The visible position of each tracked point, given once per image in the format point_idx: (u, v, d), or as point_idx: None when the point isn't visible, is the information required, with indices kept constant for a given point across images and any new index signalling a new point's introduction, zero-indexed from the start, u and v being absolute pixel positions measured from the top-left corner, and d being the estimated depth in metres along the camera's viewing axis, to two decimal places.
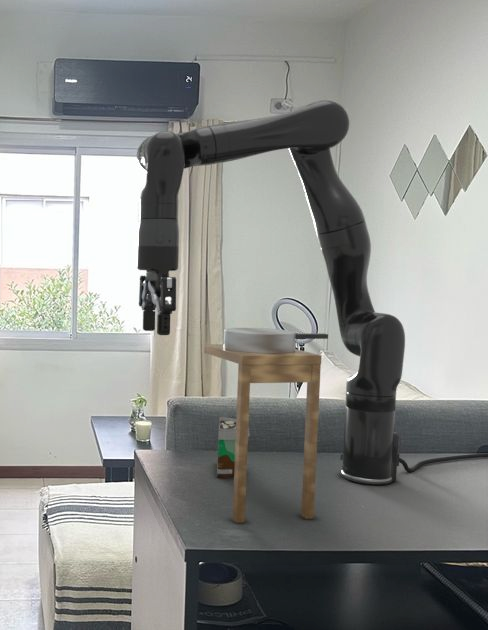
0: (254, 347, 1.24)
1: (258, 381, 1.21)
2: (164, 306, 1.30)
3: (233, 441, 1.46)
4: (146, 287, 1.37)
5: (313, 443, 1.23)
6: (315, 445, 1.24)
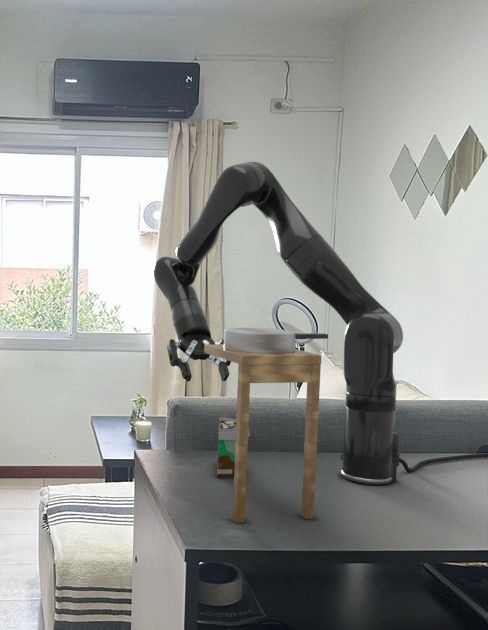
0: (254, 347, 1.24)
1: (258, 381, 1.21)
2: (170, 362, 1.67)
3: (233, 441, 1.46)
4: None
5: (313, 443, 1.23)
6: (315, 445, 1.24)
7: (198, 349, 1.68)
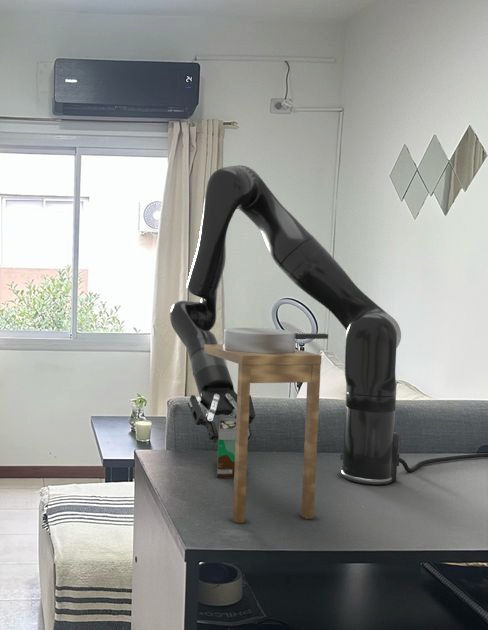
0: (254, 347, 1.24)
1: (258, 381, 1.21)
2: (195, 421, 1.55)
3: (233, 441, 1.46)
4: None
5: (313, 443, 1.23)
6: (315, 445, 1.24)
7: (221, 404, 1.56)
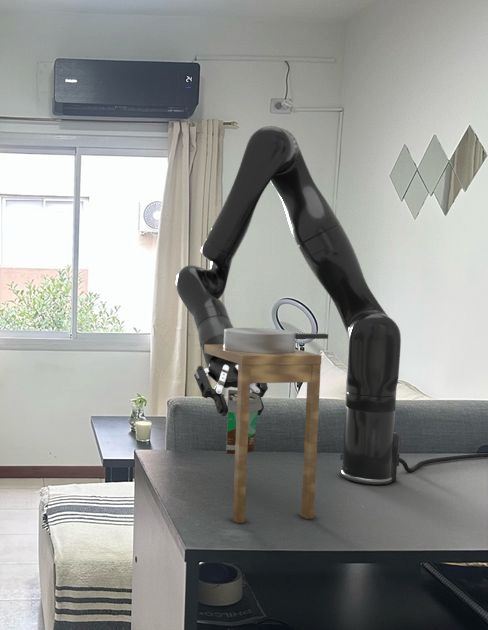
0: (254, 347, 1.24)
1: (258, 381, 1.21)
2: (203, 393, 1.43)
3: None
4: None
5: (313, 443, 1.23)
6: (315, 445, 1.24)
7: (230, 375, 1.45)
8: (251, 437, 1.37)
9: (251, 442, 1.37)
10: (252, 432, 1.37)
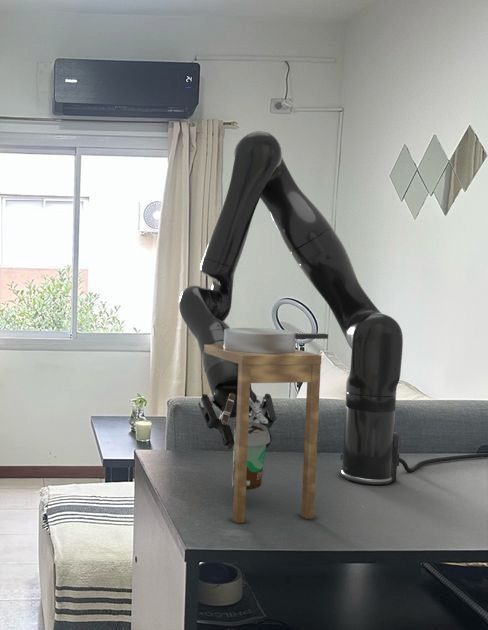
0: (254, 347, 1.24)
1: (258, 381, 1.21)
2: (207, 423, 1.35)
3: (252, 448, 1.27)
4: None
5: (313, 443, 1.23)
6: (315, 445, 1.24)
7: None
8: (259, 472, 1.29)
9: (259, 477, 1.29)
10: (260, 467, 1.29)
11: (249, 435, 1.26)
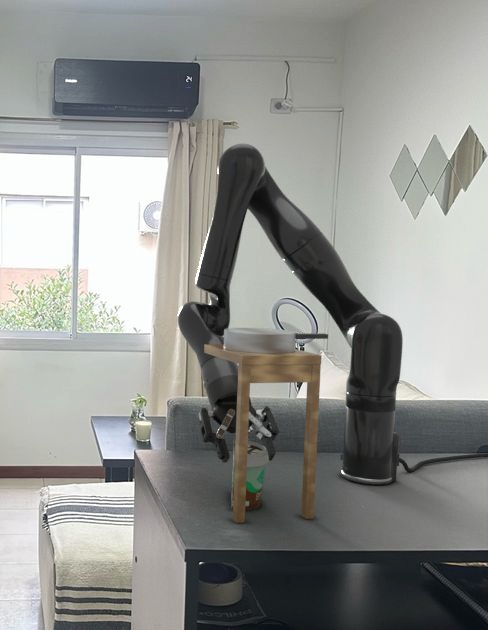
0: (254, 347, 1.24)
1: (258, 381, 1.21)
2: (202, 437, 1.36)
3: (250, 469, 1.27)
4: None
5: (313, 443, 1.23)
6: (315, 445, 1.24)
7: None
8: (258, 492, 1.29)
9: (258, 497, 1.29)
10: (259, 487, 1.29)
11: (248, 456, 1.26)
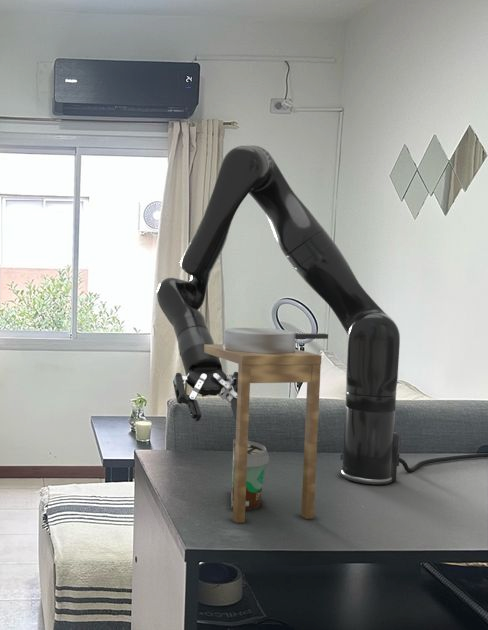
0: (254, 347, 1.24)
1: (258, 381, 1.21)
2: (177, 399, 1.49)
3: (250, 469, 1.27)
4: None
5: (313, 443, 1.23)
6: (315, 445, 1.24)
7: (208, 384, 1.50)
8: (258, 492, 1.29)
9: (258, 497, 1.29)
10: (259, 487, 1.29)
11: (248, 456, 1.26)
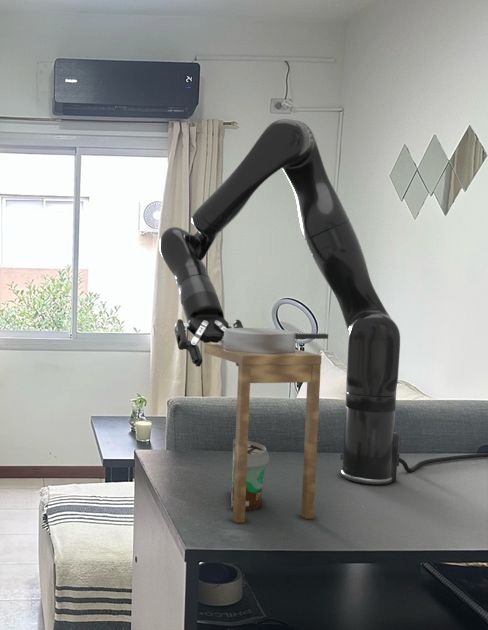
0: (254, 347, 1.24)
1: (258, 381, 1.21)
2: (178, 345, 1.48)
3: (250, 469, 1.27)
4: None
5: (313, 443, 1.23)
6: (315, 445, 1.24)
7: (210, 330, 1.49)
8: (258, 492, 1.29)
9: (258, 497, 1.29)
10: (259, 487, 1.29)
11: (248, 456, 1.26)
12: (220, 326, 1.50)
